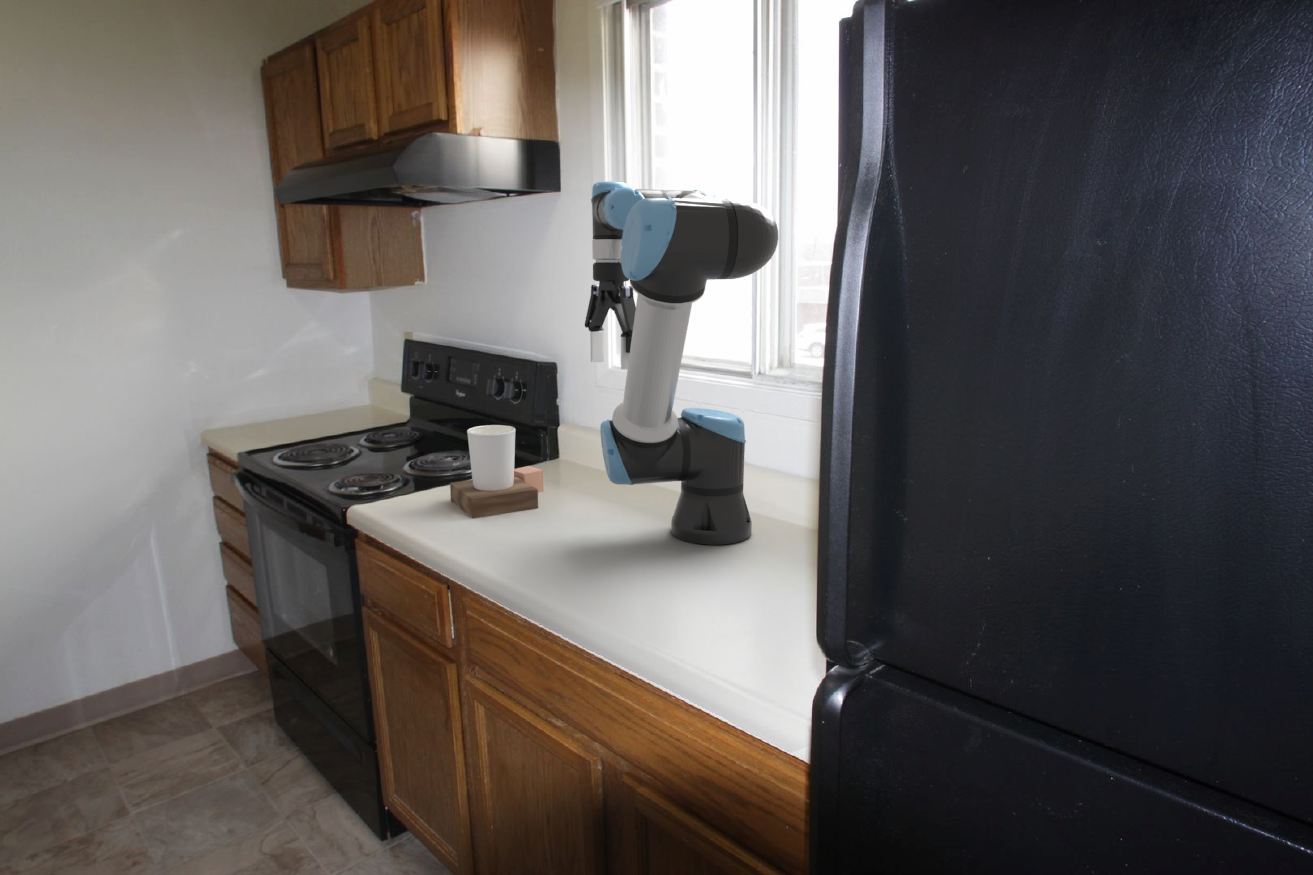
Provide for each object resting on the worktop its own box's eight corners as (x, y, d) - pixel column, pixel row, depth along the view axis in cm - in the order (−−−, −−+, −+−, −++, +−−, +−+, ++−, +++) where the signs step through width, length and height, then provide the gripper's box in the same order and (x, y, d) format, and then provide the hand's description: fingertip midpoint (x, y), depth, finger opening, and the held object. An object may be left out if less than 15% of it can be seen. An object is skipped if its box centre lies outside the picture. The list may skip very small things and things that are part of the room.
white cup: (506, 493, 166) (504, 435, 163) (461, 490, 168) (458, 433, 165) (524, 481, 175) (522, 426, 173) (481, 478, 177) (478, 424, 175)
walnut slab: (538, 507, 170) (537, 489, 169) (472, 518, 163) (471, 498, 162) (513, 491, 182) (512, 474, 181) (450, 500, 174) (450, 482, 174)
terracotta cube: (543, 491, 182) (542, 469, 181) (525, 496, 179) (524, 473, 178) (529, 487, 186) (529, 465, 185) (511, 491, 182) (510, 469, 181)
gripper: (658, 261, 159) (658, 370, 163) (599, 261, 180) (600, 358, 184) (624, 261, 155) (625, 373, 159) (568, 261, 176) (570, 360, 180)
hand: (611, 365), depth 172 cm, fingers open, 13 cm apart
